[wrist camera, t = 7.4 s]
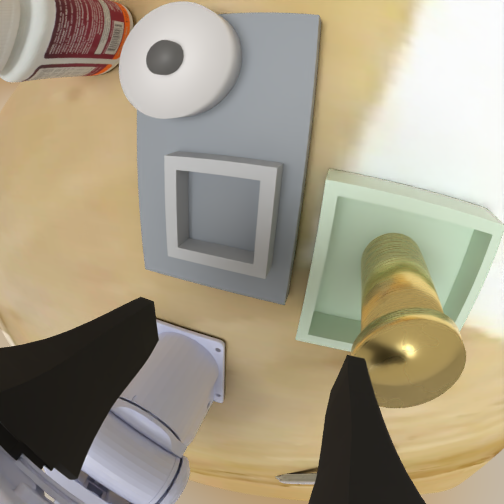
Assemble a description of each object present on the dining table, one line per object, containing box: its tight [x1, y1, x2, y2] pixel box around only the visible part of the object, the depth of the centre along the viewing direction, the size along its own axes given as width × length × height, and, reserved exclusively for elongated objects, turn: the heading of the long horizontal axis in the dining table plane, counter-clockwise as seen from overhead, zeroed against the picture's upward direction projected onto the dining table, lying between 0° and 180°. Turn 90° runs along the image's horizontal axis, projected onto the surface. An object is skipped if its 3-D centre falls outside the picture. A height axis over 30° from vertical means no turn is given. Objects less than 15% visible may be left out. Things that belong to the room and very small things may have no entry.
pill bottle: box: [0, 0, 133, 82], centre depth 12 cm, size 6×6×11 cm
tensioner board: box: [119, 2, 321, 305], centre depth 17 cm, size 18×11×4 cm, turn 175°
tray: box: [295, 168, 504, 352], centre depth 17 cm, size 10×10×3 cm
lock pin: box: [350, 233, 466, 408], centre depth 14 cm, size 5×5×9 cm
